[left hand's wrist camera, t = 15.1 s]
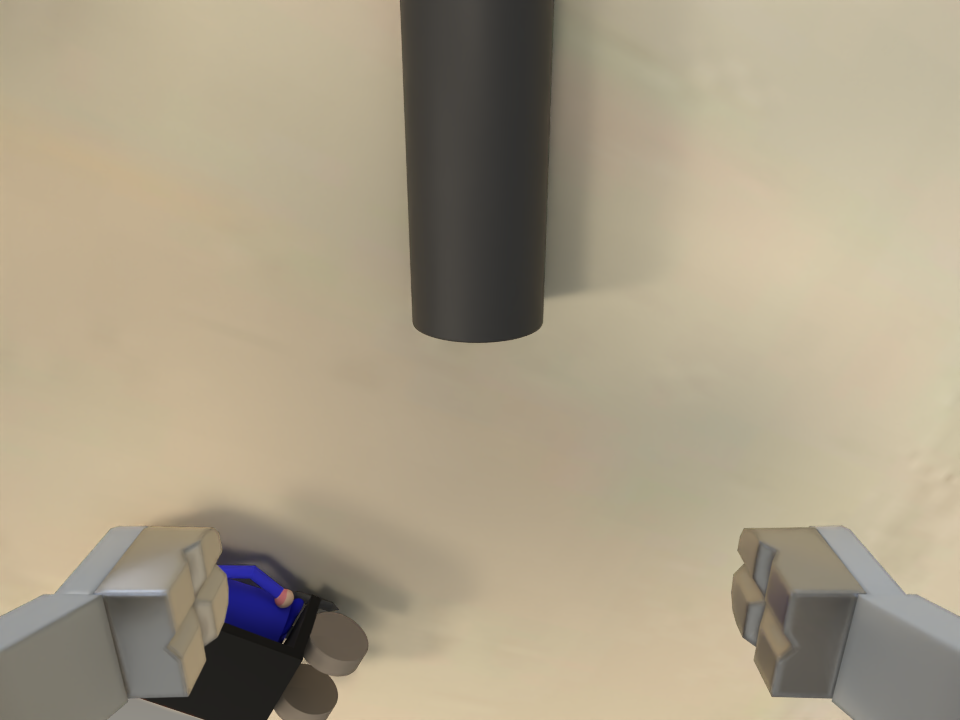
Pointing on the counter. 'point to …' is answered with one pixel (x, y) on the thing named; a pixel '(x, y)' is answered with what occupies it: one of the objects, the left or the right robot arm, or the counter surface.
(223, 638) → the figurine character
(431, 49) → the rod
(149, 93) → the counter surface
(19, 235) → the counter surface
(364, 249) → the counter surface
